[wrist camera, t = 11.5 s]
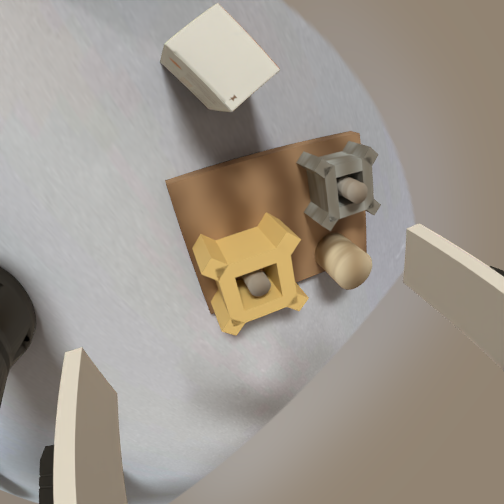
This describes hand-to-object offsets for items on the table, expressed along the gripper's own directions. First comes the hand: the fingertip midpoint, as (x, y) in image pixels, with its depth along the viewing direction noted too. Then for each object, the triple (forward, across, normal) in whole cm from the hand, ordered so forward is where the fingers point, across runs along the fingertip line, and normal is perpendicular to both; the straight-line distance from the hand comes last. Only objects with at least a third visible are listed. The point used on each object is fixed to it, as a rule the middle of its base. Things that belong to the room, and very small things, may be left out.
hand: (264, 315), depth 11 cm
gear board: (+27, +10, -10) cm, 30 cm away
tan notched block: (+25, +4, -13) cm, 28 cm away
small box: (+27, +5, +10) cm, 29 cm away
